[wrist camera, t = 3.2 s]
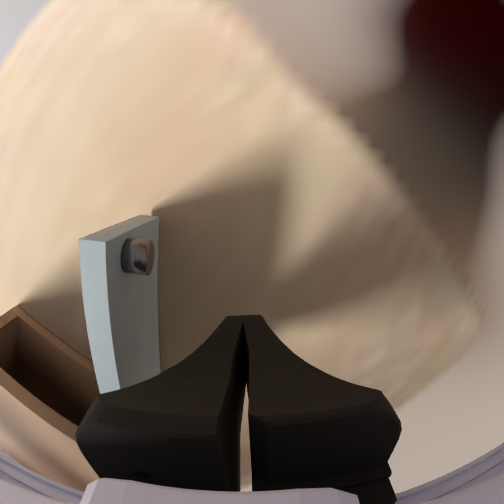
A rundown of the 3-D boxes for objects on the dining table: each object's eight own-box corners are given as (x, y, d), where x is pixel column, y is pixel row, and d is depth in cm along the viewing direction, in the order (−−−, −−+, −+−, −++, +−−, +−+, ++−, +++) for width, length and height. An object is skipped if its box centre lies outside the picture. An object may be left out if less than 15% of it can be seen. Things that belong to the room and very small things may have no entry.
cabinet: (111, 457, 15) (92, 507, 10) (13, 391, 14) (-20, 429, 9) (146, 394, 13) (118, 464, 8) (17, 305, 12) (-39, 344, 7)
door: (147, 390, 13) (120, 457, 8) (140, 214, 11) (78, 239, 6) (175, 396, 13) (155, 466, 8) (177, 217, 11) (131, 245, 6)
